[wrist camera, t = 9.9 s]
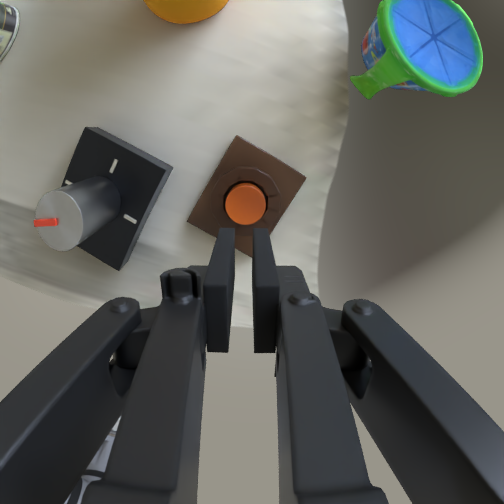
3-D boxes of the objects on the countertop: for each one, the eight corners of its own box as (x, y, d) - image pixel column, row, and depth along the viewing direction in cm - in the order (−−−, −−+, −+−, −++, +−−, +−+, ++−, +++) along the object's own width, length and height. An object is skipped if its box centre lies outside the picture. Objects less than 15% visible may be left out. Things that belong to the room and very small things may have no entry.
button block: (254, 255, 34) (254, 265, 31) (188, 218, 32) (183, 226, 30) (304, 176, 31) (310, 179, 28) (237, 135, 30) (235, 134, 27)
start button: (252, 226, 30) (252, 232, 29) (219, 208, 30) (217, 212, 28) (272, 195, 29) (273, 198, 27) (238, 175, 28) (238, 178, 27)
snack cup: (407, -1, 23) (451, -32, 14) (456, 72, 26) (511, 62, 17) (306, 49, 26) (331, 14, 17) (366, 130, 29) (412, 130, 20)
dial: (119, 174, 28) (77, 188, 20) (123, 224, 29) (85, 253, 22) (77, 178, 28) (29, 193, 20) (81, 225, 29) (38, 252, 22)
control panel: (128, 261, 34) (118, 272, 31) (61, 220, 32) (47, 227, 29) (173, 167, 31) (165, 170, 28) (97, 127, 29) (84, 126, 26)
